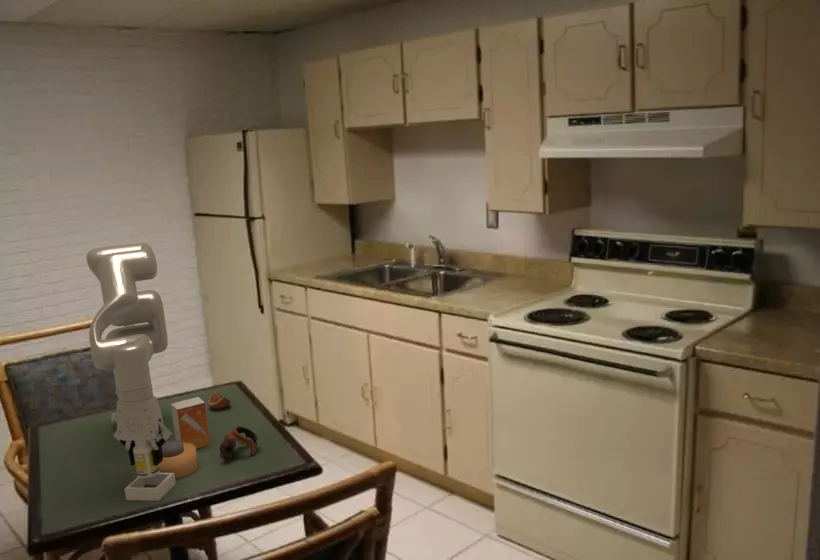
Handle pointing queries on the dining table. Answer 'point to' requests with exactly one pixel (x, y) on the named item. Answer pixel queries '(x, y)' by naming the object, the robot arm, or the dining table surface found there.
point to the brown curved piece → (230, 442)
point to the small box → (191, 422)
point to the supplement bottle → (144, 459)
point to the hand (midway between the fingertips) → (146, 462)
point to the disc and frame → (165, 472)
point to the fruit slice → (218, 400)
